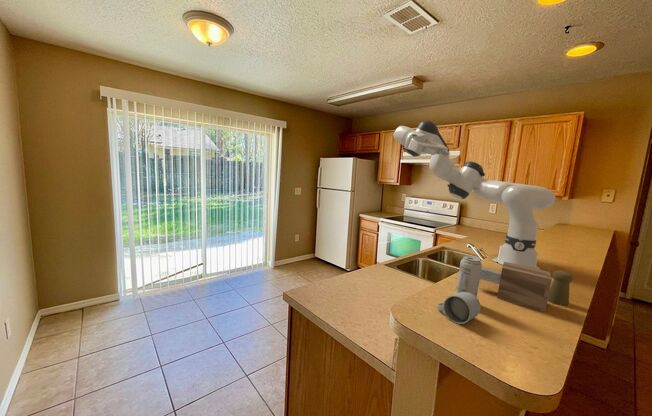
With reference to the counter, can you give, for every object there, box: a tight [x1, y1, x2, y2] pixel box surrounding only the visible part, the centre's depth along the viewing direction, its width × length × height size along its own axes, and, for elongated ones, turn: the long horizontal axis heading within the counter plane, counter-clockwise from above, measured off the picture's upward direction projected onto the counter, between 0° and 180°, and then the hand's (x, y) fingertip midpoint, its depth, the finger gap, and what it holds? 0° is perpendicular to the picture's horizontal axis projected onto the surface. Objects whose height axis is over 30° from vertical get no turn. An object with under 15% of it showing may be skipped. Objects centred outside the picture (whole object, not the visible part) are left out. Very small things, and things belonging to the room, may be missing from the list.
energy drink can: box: [455, 255, 483, 298], centre depth 86 cm, size 6×6×15 cm
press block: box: [496, 262, 553, 313], centre depth 92 cm, size 9×13×11 cm
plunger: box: [480, 266, 502, 285], centre depth 97 cm, size 5×13×5 cm, turn 53°
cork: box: [547, 269, 574, 307], centre depth 93 cm, size 6×6×11 cm
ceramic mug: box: [437, 292, 482, 325], centre depth 78 cm, size 11×8×8 cm
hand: (441, 154), depth 117 cm, fingers open, 8 cm apart
